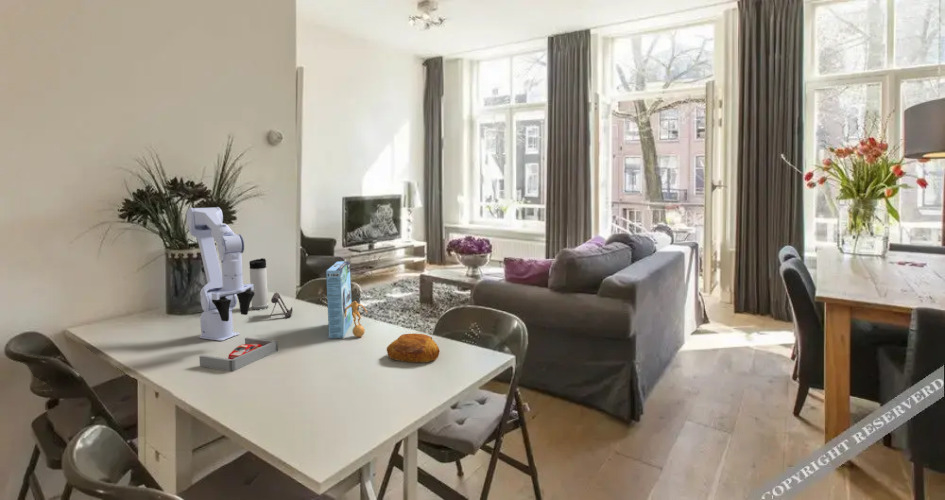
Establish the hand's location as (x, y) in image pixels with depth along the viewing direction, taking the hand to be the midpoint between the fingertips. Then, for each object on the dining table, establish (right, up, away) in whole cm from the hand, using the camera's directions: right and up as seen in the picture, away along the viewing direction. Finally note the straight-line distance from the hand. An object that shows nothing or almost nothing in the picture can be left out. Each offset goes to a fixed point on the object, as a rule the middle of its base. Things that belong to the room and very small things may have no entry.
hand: (234, 317), depth 156 cm
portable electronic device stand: (0, -5, +38) cm, 38 cm away
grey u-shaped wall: (+5, -11, -8) cm, 14 cm away
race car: (+7, -11, -7) cm, 15 cm away
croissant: (+57, -11, -5) cm, 58 cm away
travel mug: (-13, -3, +49) cm, 51 cm away
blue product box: (+28, -7, +20) cm, 35 cm away
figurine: (+35, -8, +13) cm, 38 cm away
